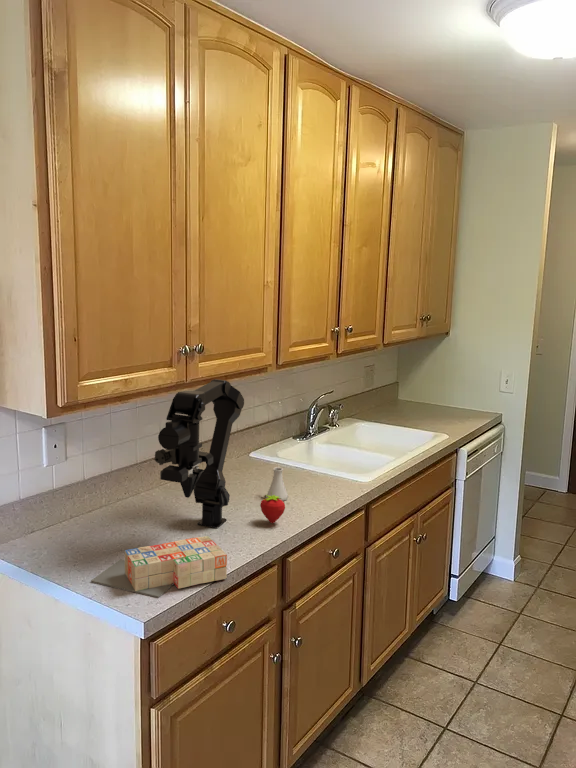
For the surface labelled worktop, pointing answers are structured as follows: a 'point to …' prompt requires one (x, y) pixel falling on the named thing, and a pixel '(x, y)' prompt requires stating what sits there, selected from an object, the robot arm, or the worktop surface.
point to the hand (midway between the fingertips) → (187, 497)
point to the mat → (125, 580)
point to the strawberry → (272, 508)
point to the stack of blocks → (176, 564)
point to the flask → (278, 485)
